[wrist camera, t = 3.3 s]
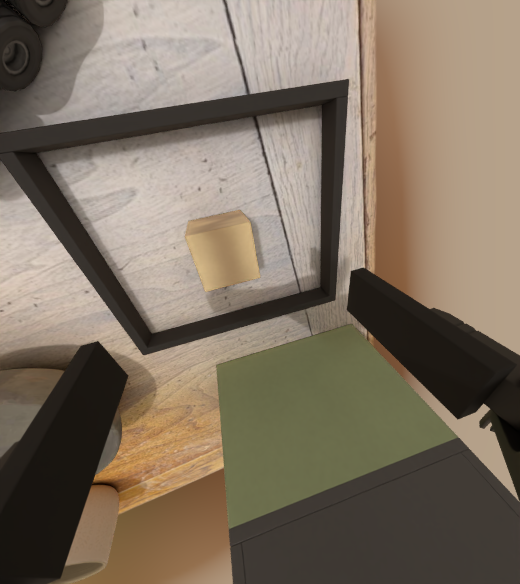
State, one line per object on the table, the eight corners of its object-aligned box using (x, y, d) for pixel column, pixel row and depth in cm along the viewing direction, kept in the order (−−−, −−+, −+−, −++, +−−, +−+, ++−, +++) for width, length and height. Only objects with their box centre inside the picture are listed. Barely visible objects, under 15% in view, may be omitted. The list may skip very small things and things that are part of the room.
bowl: (8, 302, 21) (-80, 366, 14) (167, 383, 33) (158, 439, 26) (-116, 405, 23) (-240, 500, 17) (72, 446, 35) (43, 512, 28)
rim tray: (332, 88, 18) (349, 78, 16) (326, 291, 30) (335, 300, 28) (12, 139, 15) (-18, 135, 13) (147, 341, 27) (143, 355, 25)
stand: (351, 323, 36) (458, 437, 21) (345, 374, 44) (418, 481, 29) (216, 365, 33) (228, 529, 18) (236, 411, 41) (256, 549, 26)
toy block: (240, 209, 22) (250, 221, 17) (249, 257, 25) (260, 277, 20) (188, 221, 21) (184, 236, 16) (204, 268, 24) (205, 292, 20)
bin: (458, 437, 21) (600, 587, 13) (418, 481, 29) (492, 590, 22) (228, 529, 18) (247, 780, 11) (256, 549, 26) (278, 699, 19)
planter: (39, 502, 41) (-7, 596, 32) (85, 474, 40) (51, 564, 31) (97, 507, 48) (73, 586, 39) (137, 483, 47) (122, 559, 38)
